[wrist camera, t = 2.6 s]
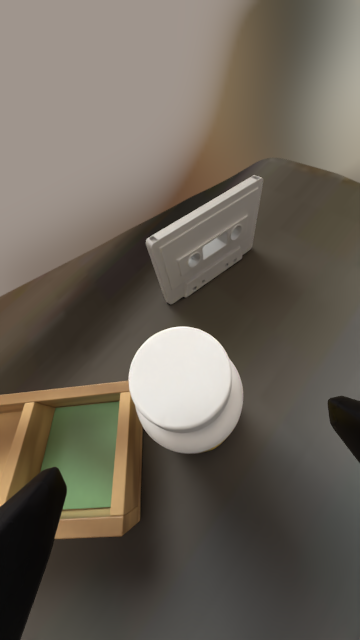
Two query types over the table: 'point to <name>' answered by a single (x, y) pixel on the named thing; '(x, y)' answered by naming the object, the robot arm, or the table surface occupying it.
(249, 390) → the table surface
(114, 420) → the tray
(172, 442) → the supplement bottle
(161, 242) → the cassette
